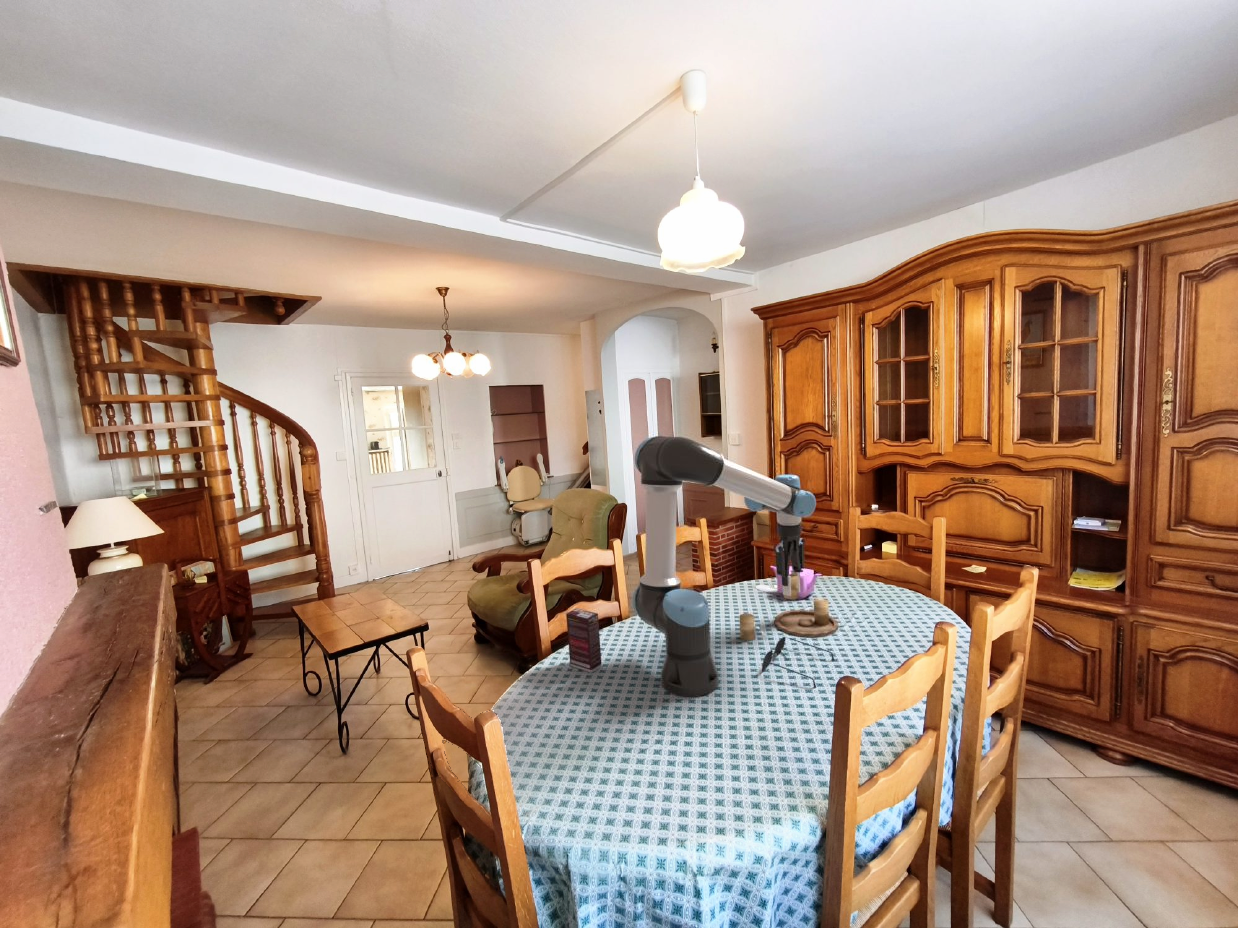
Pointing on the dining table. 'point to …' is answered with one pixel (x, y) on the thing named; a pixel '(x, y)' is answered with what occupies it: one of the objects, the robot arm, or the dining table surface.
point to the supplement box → (584, 640)
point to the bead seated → (821, 612)
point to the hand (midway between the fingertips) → (791, 592)
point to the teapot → (805, 582)
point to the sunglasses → (778, 650)
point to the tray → (804, 624)
